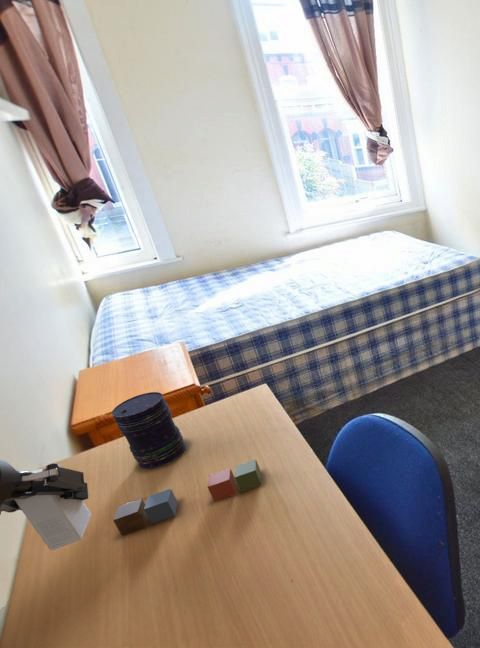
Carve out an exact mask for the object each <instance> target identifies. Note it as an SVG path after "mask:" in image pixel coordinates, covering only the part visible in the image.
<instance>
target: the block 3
mask: <svg viewBox="0 0 480 648" xmlns="http://www.w3.org/2000/svg"><path fill="white" fill-rule="evenodd" d="M207 489H208V492H209V494H210V496H211V498H212V500H213V502H217V501H220V500H222V499H225V498H228V497H231V496H234V495H236V494H237V493H236V492H237V482H236V480H235V474H234V473H233V471H232V469H231V467H229V468H226V469H224V470H221V471H218V472H215V473H212V474H209V476H208V482H207Z"/></svg>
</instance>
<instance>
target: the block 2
mask: <svg viewBox="0 0 480 648" xmlns="http://www.w3.org/2000/svg"><path fill="white" fill-rule="evenodd" d="M178 505H179V503H178V500H177V498H176V496H175V494H174V492H173V490H172V488H168V489H164V490H162V491H159V492H157V493H154V494H151V495H148V496H147V499H146V502H145V508H144V511H145V512H146V514H147V516H148V520H149V521H150V524H151V525H154V524H156V523H159V522H162V521H165V520H168V519H170V518H172V517H175V516H176V513H177V509H178Z"/></svg>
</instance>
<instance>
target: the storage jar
mask: <svg viewBox="0 0 480 648" xmlns="http://www.w3.org/2000/svg"><path fill="white" fill-rule="evenodd" d="M111 415H112V417H113V419H114V421H115V423H116V426H117V428H118V429H119V432H120V434H121V435H122V436H124V437H125V439H126V442H127V443H128V445H129V451H130V453H131V454H132V456H133V459H134V460H135V461H136V462H137V464H138V466H139V468H140V469H143V470H153V469H159V468H160V467H163V466H166V465H168V464H171V463H172V462H173V461H175V460H176V459H178V458H179V457H181V456H182V454H184V453H185V451H186V450H187V449H186V448H187V444H186V442H185V441H184V437H183V434H182V432H181V431H180V428H179V427H178V426H177V425H176V424H175V422H174V420H173V417H172V411H171V409H170V407H169V405H168V403H167V402H166V399H165V398H164V395H163V393H161V392H158V391H151V392H145V393H142V394H138V395H135V396H132V397H130V398H128V399H126V400H124V401H122V402H121V403H119V404H118V405H117V406H115V407H114V408H113V409H112V411H111Z"/></svg>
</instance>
